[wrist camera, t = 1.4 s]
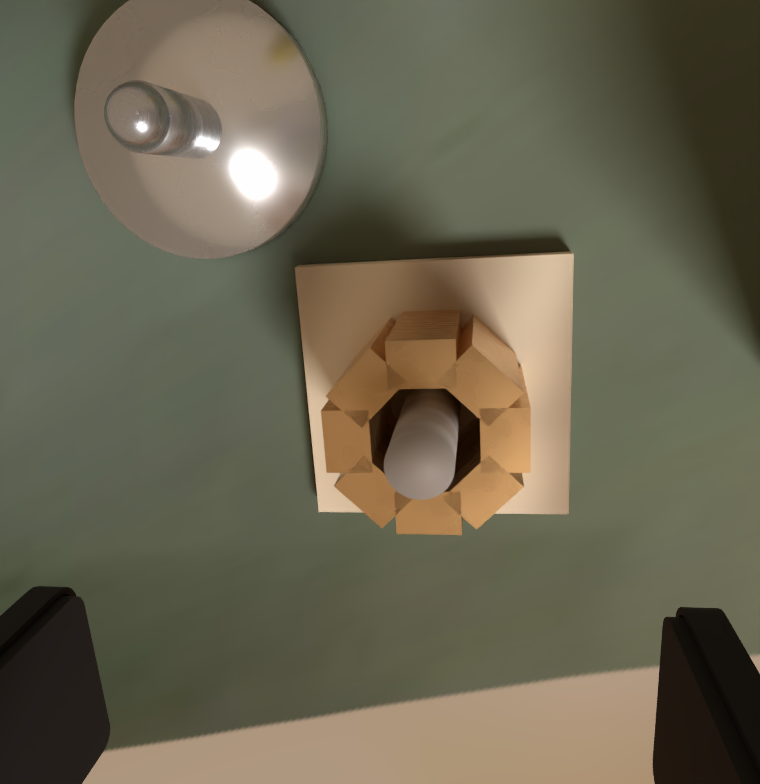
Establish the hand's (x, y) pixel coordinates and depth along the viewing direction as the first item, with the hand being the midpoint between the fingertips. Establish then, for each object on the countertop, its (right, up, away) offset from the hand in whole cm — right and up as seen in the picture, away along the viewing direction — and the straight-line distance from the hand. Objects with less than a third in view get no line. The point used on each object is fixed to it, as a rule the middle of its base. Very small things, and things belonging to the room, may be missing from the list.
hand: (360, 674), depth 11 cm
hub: (-6, +14, +14) cm, 21 cm away
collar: (+2, +4, +15) cm, 16 cm away
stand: (+3, +5, +15) cm, 16 cm away
